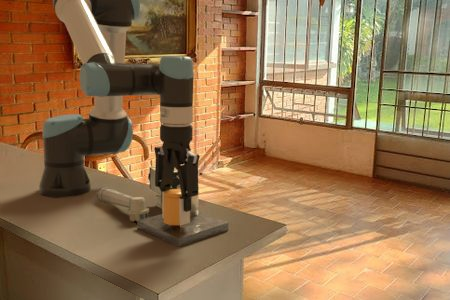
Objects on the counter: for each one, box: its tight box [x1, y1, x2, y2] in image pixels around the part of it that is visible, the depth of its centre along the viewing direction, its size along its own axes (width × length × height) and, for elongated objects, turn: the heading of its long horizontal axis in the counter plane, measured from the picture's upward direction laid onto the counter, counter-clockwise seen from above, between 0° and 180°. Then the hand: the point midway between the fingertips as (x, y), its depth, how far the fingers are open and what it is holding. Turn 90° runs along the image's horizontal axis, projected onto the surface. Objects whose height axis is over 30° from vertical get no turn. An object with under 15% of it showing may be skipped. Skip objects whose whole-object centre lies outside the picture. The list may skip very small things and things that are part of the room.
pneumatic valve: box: [147, 166, 180, 210], centre depth 139 cm, size 6×12×12 cm, turn 32°
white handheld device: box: [96, 187, 150, 222], centre depth 136 cm, size 5×7×25 cm
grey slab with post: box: [136, 185, 229, 247], centre depth 122 cm, size 16×16×9 cm
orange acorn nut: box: [164, 189, 187, 225], centre depth 117 cm, size 6×6×7 cm
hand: (175, 220), depth 118 cm, fingers closed on orange acorn nut, 6 cm apart
